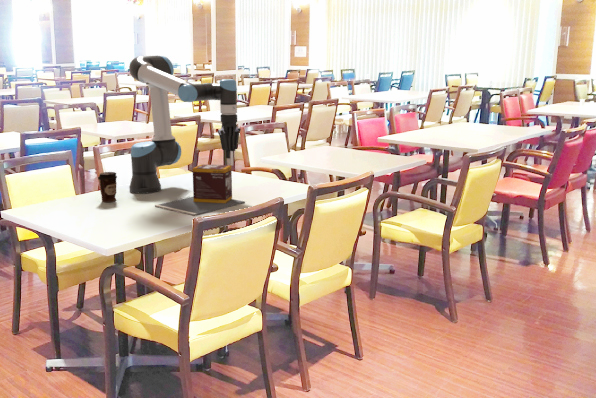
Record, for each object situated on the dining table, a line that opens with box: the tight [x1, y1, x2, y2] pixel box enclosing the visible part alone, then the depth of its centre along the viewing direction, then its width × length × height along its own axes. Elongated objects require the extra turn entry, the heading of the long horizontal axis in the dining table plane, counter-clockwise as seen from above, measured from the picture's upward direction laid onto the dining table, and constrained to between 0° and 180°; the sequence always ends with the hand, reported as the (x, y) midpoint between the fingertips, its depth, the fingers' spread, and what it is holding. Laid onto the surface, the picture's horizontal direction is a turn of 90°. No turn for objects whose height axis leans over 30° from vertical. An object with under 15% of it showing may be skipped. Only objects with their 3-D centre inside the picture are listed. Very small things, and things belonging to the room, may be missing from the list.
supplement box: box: [192, 164, 233, 203], centre depth 292 cm, size 10×15×16 cm
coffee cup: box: [97, 171, 118, 203], centre depth 294 cm, size 9×8×13 cm
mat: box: [154, 196, 246, 217], centre depth 288 cm, size 26×30×1 cm
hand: (230, 164), depth 299 cm, fingers closed
